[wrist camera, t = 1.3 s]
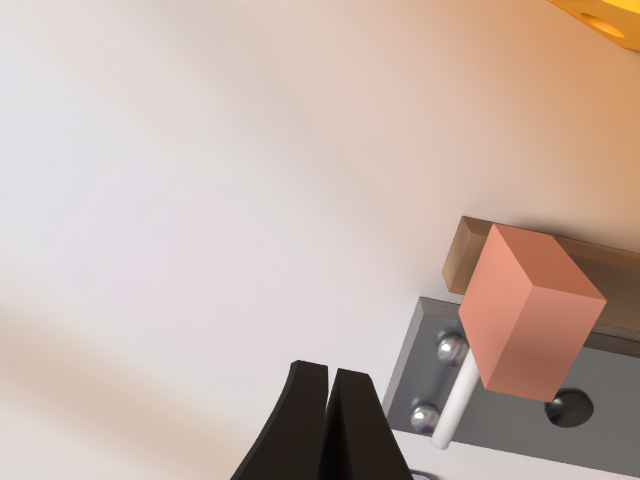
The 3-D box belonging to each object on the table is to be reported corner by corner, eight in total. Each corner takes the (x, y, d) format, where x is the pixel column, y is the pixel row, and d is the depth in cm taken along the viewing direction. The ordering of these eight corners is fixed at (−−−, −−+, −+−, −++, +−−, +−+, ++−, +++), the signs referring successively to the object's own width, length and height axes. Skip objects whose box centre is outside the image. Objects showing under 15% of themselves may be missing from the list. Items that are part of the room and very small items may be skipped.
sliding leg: (460, 433, 21) (483, 525, 17) (413, 424, 20) (426, 514, 17) (551, 235, 17) (607, 300, 13) (493, 222, 16) (532, 285, 13)
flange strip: (717, 473, 23) (743, 507, 22) (381, 406, 22) (383, 436, 21) (797, 375, 20) (833, 405, 19) (419, 297, 20) (425, 321, 18)
